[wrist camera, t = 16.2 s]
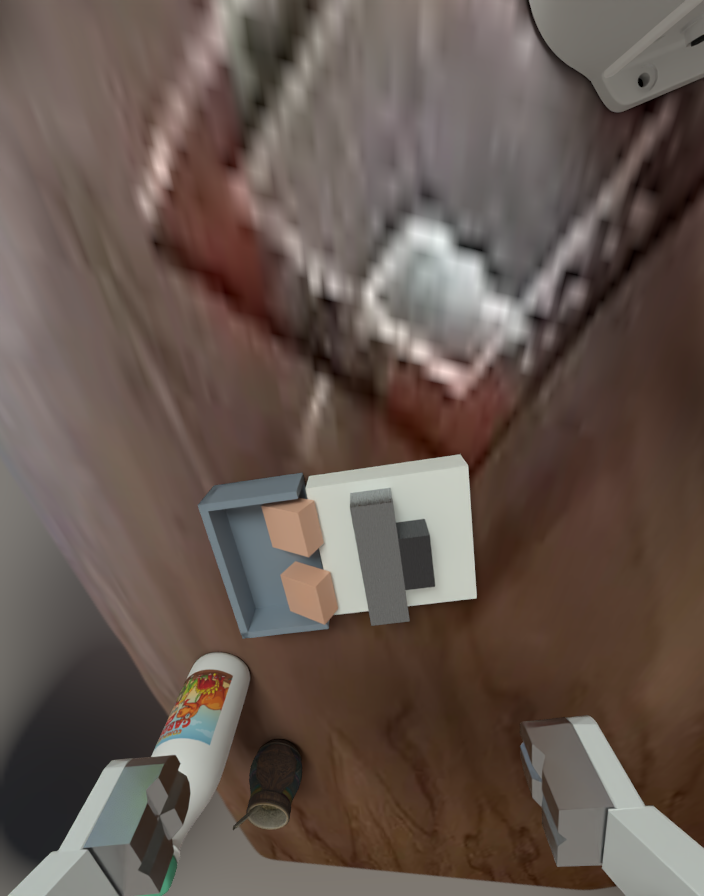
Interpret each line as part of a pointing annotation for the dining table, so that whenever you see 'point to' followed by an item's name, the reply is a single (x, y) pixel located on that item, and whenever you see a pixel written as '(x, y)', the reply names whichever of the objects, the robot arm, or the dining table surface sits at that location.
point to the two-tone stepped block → (389, 555)
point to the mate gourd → (273, 784)
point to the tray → (255, 554)
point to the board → (414, 497)
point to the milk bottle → (203, 733)
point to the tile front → (293, 525)
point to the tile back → (310, 592)
